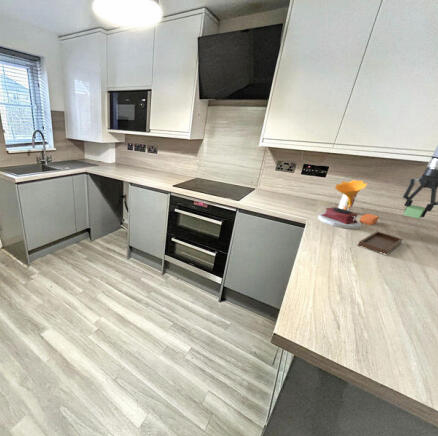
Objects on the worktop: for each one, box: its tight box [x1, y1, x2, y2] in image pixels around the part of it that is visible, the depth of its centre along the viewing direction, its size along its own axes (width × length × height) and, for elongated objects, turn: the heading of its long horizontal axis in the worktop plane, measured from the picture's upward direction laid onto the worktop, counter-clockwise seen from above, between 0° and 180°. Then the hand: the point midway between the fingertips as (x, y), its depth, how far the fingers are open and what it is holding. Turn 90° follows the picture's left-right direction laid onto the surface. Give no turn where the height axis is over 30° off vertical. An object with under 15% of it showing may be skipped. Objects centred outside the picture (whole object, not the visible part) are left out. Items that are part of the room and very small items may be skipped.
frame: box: [357, 231, 404, 255], centre depth 114 cm, size 10×25×2 cm, turn 123°
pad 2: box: [403, 204, 426, 219], centre depth 118 cm, size 10×6×4 cm, turn 122°
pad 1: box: [358, 213, 380, 226], centre depth 142 cm, size 10×6×4 cm, turn 123°
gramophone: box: [317, 179, 368, 230], centre depth 135 cm, size 20×20×25 cm
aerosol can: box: [337, 193, 358, 212], centre depth 156 cm, size 7×7×20 cm
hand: (413, 214), depth 119 cm, fingers closed on pad 2, 5 cm apart
